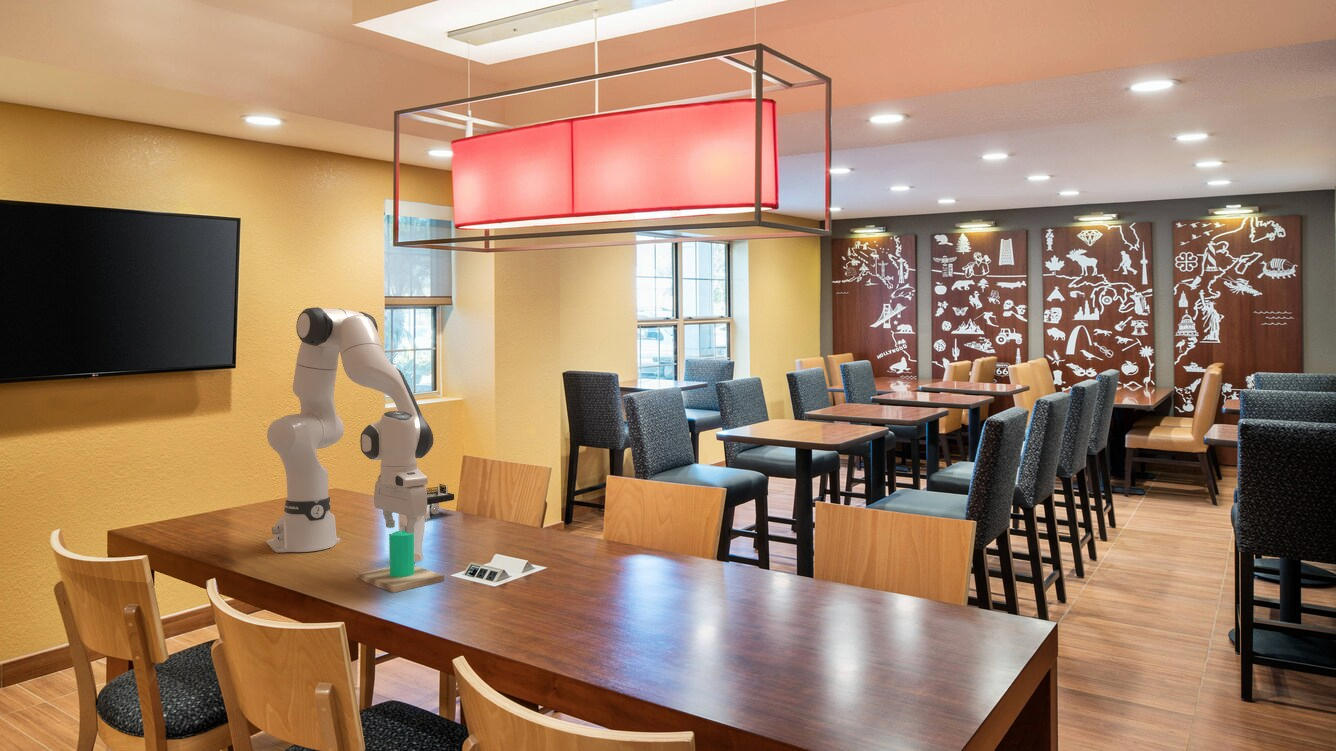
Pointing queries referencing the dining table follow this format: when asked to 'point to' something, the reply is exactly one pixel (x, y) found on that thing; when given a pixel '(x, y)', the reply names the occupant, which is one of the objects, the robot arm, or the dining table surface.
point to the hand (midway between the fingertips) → (399, 530)
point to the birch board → (400, 579)
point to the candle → (401, 553)
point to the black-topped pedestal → (436, 499)
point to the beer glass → (415, 534)
